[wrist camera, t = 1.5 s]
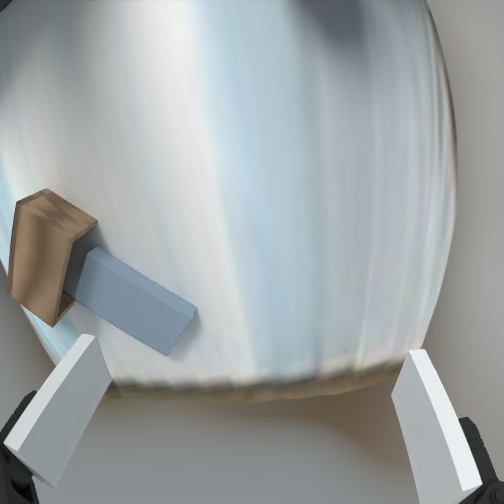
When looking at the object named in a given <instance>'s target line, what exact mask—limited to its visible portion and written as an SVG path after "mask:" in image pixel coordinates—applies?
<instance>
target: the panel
mask: <svg viewBox="0 0 504 504" xmlns="http://www.w3.org/2000/svg"><path fill="white" fill-rule="evenodd" d="M74 299H76V300H77V301H78V302H80V303H81V304H83V305H84V306H86V307H87V308H89V309H90V310H92V311H93V312H95V313H96V314H98V315H99V316H101V317H102V318H104V319H105V320H107V321H108V322H110V323H111V324H113V325H115V326H116V327H118V328H119V329H121V330H123V331H124V332H126V333H127V334H129V335H131V336H132V337H134V338H136V339H137V340H139V341H141V342H143V343H144V344H146V345H148V346H149V347H151V348H153V349H155V350H156V351H158V352H160V353H162V354H164V355H165V356H168V354H169V353H170V351H171V350H172V348H173V347H174V345H175V344H176V342H177V340H178V339H179V337H180V336H181V334H182V333H183V331H184V330H185V328H186V327H187V325H188V324H189V322H190V321H191V319H192V317H193V315H194V312H195V310H196V306H194V305H192V304H191V303H189V302H187V301H185V300H184V299H182V298H180V297H179V296H177V295H175V294H174V293H172V292H170V291H169V290H167V289H165V288H164V287H162V286H160V285H159V284H157V283H155V282H154V281H152V280H150V279H149V278H147V277H145V276H144V275H142V274H141V273H139V272H137V271H136V270H134V269H133V268H131V267H130V266H128V265H126V264H125V263H123V262H122V261H120V260H119V259H117V258H115V257H114V256H112V255H111V254H109V253H108V252H106V251H105V250H103V249H102V248H100V247H99V246H96V247H95V248H94V249H92V250H91V251H90V252H89V253H88V254H87V256H86V259H85V263H84V266H83V269H82V272H81V276H80V279H79V282H78V286H77V289H76V293H75V297H74Z"/></svg>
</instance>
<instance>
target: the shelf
mask: <svg viewBox="0 0 504 504" xmlns="http://www.w3.org/2000/svg"><path fill="white" fill-rule="evenodd" d="M96 222H97V220H96V219H94V218H93V217H91V216H89V215H88V214H86V213H85V212H83V211H81V210H80V209H78V208H77V207H75V206H74V205H72V204H70V203H69V202H67V201H66V200H64V199H63V198H61V197H59V196H58V195H56V194H55V193H53V192H52V191H50V190H49V189H44V190H42V191H39V192H37V193H35V194H33V195H30V196H28V197H26V198H23V199H21V200H19V201H17V202H16V207H15V213H14V220H13V227H12V235H11V245H10V256H9V270H8V294H9V295H11V296H12V297H13V298H14V299H15V300H17V301H18V302H19V303H20V304H22V305H23V306H24V307H25V308H27V309H28V310H29V311H30V312H32V313H33V314H34V315H36V316H37V317H38V318H40V319H41V320H42V321H44V322H45V323H47V324H48V325H49V326H51V327H52V328H53V327H54V325H55V324H56V323H57V322H58V321H59V320H60V319H61V318H62V317H63V315H64V314H65V313H66V312H67V311H68V310H69V309H70V308H71V307H72V306H73V304H74V301H75V299H73V298H72V297H70V296H69V295H68V294H66V293H65V292H63V291H62V290H63V285H64V280H65V275H66V270H67V266H68V262H69V257H70V253H71V249H72V245H73V242H74V241H75V240H77V239H78V238H80V237H81V236H82V235H84V234H85V233H87V232H88V231H90V230H91V229H92V228H94V227H95V225H96Z"/></svg>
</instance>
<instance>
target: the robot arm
mask: <svg viewBox="0 0 504 504" xmlns="http://www.w3.org/2000/svg"><path fill="white" fill-rule="evenodd" d="M10 1H11V0H0V11H1V10H2V9H3V8H4V7H5V6H6V5H7V4H8V3H9V2H10ZM111 381H112V378H111V376H110V373H109V371H108V368H107V366H106V363H105V361H104V358H103V355H102V353H101V350H100V347H99V344H98V341H97V339H96V336H93V335H88V334H81V336H80V337H79V338H78V339H77V341H76V342H75V343H74V344H73V346H72V347H71V348H70V349H69V351H68V352H67V353H66V355H65V356H64V357H63V359H62V360H61V361H60V362H59V364H58V365H57V366H56V368H55V369H54V370H53V372H52V373H51V375H50V376H49V377H48V378H47V380H46V381H45V383H44V384H43V385H42V387H41V388H40V390H39V391H38V392H37V391H34V390H33V391H32V392H31V393H29V394H28V395H27V396H25V397H24V399H23V400H22V401H21V403H20V404H19V407H17V408H16V410H15V411H14V414H12V416H11V417H10V418H9V420H8V422H7V423H6V424H5V426H4V427H3V429H2V430H1V432H0V504H39V501H38V497H37V493H36V489H35V485H34V482H33V480H32V476H33V475H34V476H35V477H37V478H38V479H39V480H40V481H41V482H43V483H45V484H47V485H49V486H51V487H53V488H55V487H56V485H57V483H58V481H59V479H60V477H61V475H62V473H63V471H64V469H65V467H66V465H67V463H68V461H69V459H70V457H71V455H72V453H73V451H74V449H75V447H76V445H77V443H78V441H79V439H80V437H81V436H82V434H83V432H84V430H85V428H86V426H87V424H88V422H89V421H90V419H91V417H92V415H93V413H94V411H95V409H96V408H97V406H98V404H99V402H100V400H101V399H102V397H103V395H104V393H105V391H106V390H107V388H108V386H109V384H110V383H111ZM391 396H392V399H393V402H394V405H395V409H396V412H397V415H398V419H399V422H400V425H401V429H402V433H403V436H404V440H405V443H406V447H407V450H408V455H409V458H410V462H411V466H412V470H413V474H414V479H415V483H416V487H417V491H418V496H419V501H420V504H504V482H502V481H499V480H498V478H497V476H496V473H495V471H494V468H493V466H492V463H491V460H490V458H489V455H488V453H487V450H486V448H485V447H484V443H483V441H482V439H481V438H480V434H479V431H478V429H477V427H476V425H475V424H474V423H473V422H472V421H471V420H470V419H469V418H468V417H464V418H460V419H458V418H457V416H456V414H455V412H454V409H453V407H452V405H451V403H450V400H449V398H448V396H447V394H446V392H445V390H444V388H443V385H442V383H441V381H440V379H439V377H438V375H437V373H436V371H435V369H434V367H433V365H432V363H431V361H430V359H429V357H428V355H427V353H426V351H425V350H424V349H419V350H409V351H408V354H407V356H406V359H405V362H404V365H403V367H402V370H401V372H400V375H399V377H398V380H397V382H396V385H395V387H394V390H393V392H392V394H391Z"/></svg>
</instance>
